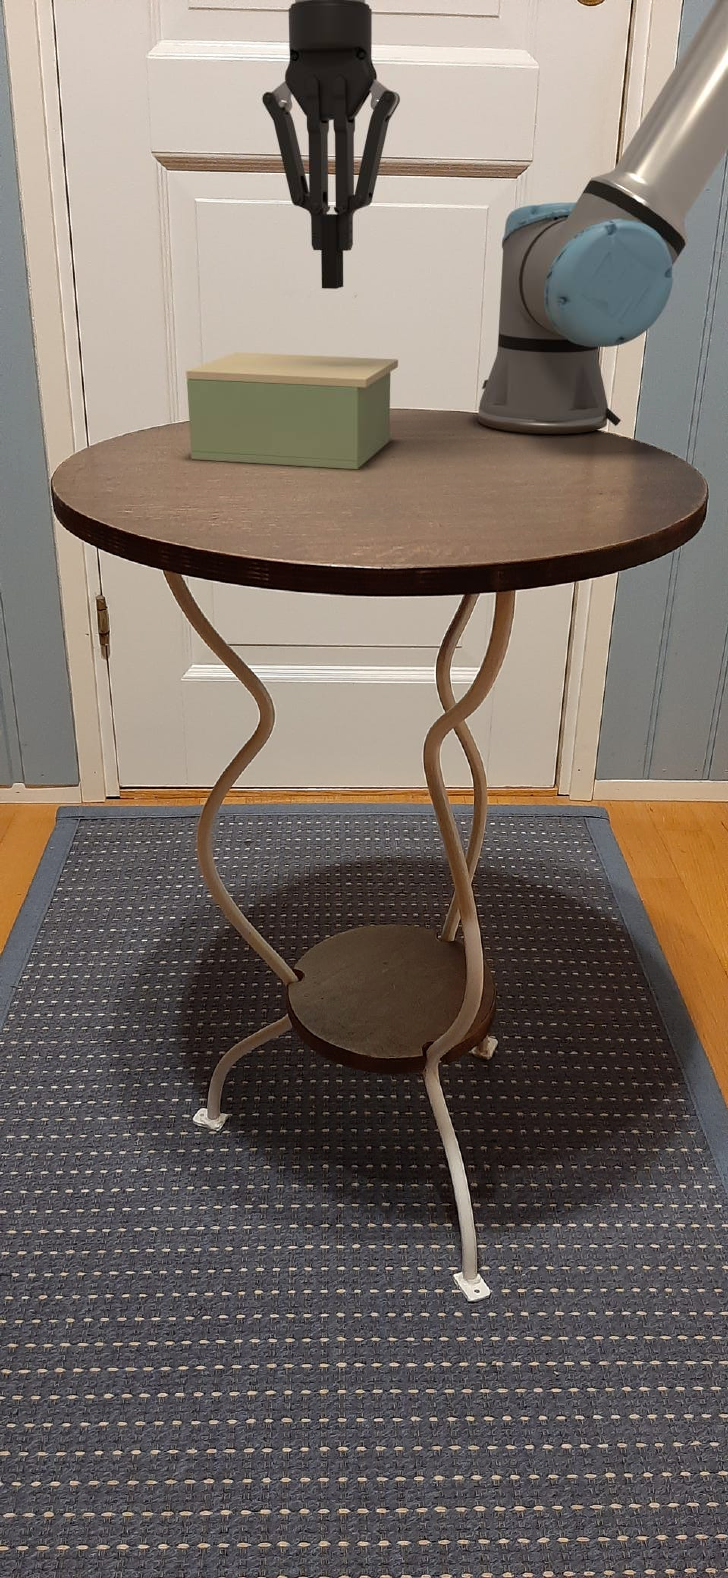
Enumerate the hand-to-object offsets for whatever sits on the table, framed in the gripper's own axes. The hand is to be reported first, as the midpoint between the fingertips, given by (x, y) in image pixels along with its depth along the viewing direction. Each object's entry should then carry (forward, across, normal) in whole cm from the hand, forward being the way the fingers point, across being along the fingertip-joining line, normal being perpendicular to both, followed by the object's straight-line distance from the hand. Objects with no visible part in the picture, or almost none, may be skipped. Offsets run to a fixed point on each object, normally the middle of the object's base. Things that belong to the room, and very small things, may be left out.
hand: (332, 287), depth 114 cm
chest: (+16, -4, 0) cm, 17 cm away
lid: (+8, -4, 0) cm, 9 cm away
